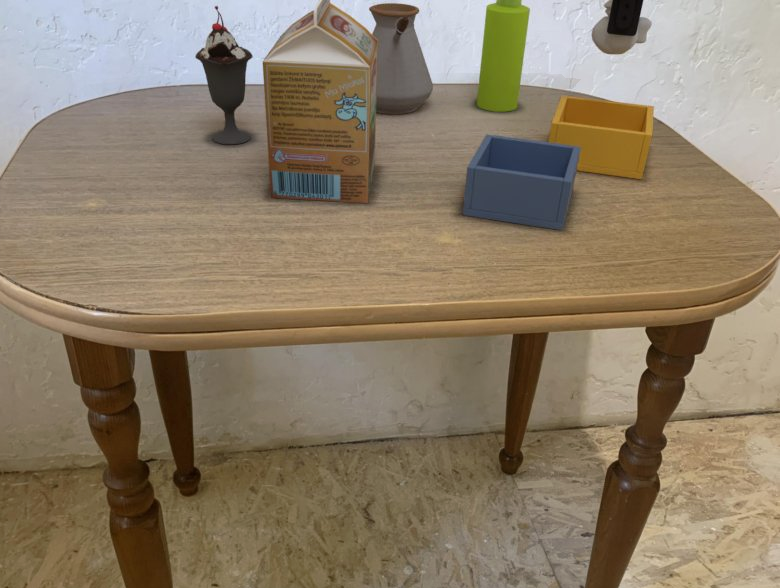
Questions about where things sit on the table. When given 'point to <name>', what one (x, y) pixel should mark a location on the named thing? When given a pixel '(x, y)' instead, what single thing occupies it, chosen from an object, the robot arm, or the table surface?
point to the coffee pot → (399, 60)
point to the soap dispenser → (502, 55)
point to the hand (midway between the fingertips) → (622, 26)
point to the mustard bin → (605, 134)
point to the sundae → (225, 79)
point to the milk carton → (322, 108)
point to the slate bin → (521, 181)
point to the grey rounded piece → (618, 42)
